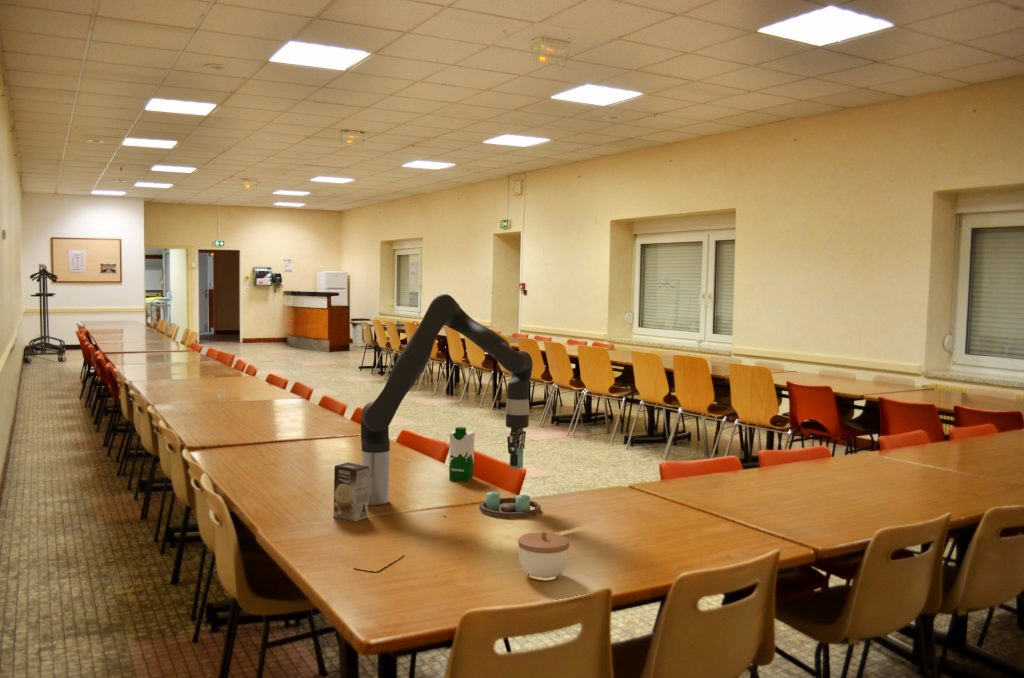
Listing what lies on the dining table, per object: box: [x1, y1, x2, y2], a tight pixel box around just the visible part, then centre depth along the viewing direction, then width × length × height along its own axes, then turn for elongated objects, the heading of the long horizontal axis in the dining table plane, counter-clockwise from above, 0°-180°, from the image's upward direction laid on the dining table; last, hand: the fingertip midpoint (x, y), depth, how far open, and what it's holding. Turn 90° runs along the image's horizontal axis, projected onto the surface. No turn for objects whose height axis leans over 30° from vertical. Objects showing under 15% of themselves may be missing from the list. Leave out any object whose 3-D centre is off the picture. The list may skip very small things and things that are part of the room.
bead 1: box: [485, 491, 501, 511], centre depth 247 cm, size 4×4×6 cm
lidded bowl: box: [517, 531, 570, 578], centre depth 191 cm, size 13×13×11 cm
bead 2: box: [508, 448, 524, 469], centre depth 253 cm, size 4×4×6 cm
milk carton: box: [448, 426, 476, 483], centre depth 293 cm, size 9×9×20 cm
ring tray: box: [478, 497, 542, 519], centre depth 248 cm, size 19×19×3 cm
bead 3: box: [515, 494, 531, 512], centre depth 244 cm, size 4×4×6 cm
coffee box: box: [333, 462, 369, 522], centre depth 238 cm, size 9×6×16 cm
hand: (516, 464), depth 253 cm, fingers closed on bead 2, 4 cm apart
